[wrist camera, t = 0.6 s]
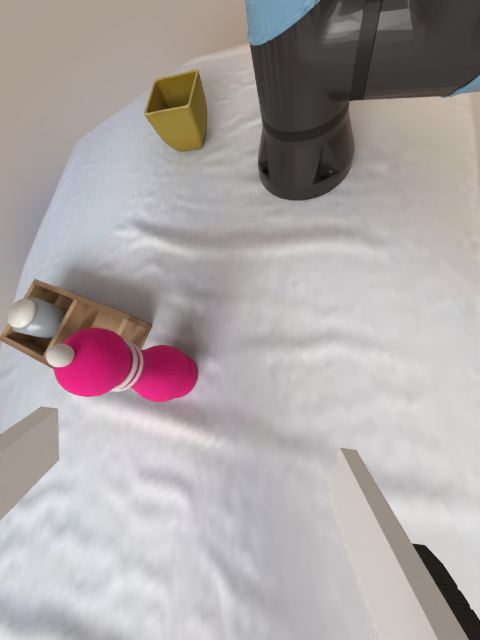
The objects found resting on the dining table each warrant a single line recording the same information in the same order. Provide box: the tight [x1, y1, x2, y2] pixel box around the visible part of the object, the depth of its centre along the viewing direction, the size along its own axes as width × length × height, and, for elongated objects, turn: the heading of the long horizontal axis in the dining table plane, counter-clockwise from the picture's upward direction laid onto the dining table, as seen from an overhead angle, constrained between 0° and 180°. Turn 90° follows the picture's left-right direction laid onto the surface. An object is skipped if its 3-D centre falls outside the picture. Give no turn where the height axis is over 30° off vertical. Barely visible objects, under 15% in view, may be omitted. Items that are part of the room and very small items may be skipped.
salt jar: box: [8, 297, 68, 340], centre depth 40 cm, size 6×6×7 cm
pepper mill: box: [46, 327, 197, 402], centre depth 27 cm, size 7×7×20 cm
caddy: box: [0, 279, 152, 369], centre depth 40 cm, size 11×21×6 cm, turn 68°
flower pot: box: [144, 70, 207, 152], centre depth 47 cm, size 9×9×9 cm
